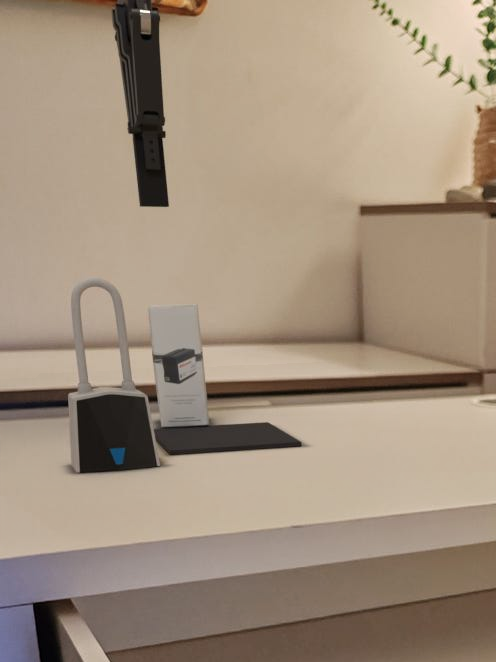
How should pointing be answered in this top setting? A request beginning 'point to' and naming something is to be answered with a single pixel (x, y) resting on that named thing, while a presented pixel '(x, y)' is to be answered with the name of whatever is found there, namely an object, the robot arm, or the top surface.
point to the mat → (223, 438)
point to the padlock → (108, 406)
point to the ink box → (178, 365)
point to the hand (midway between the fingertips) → (154, 206)
